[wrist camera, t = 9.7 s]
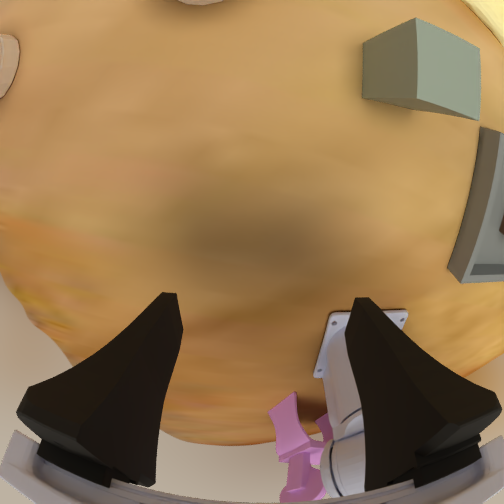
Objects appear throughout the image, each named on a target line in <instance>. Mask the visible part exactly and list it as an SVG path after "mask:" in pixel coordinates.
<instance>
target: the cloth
mask: <svg viewBox="0 0 504 504" xmlns="http://www.w3.org/2000/svg"><path fill="white" fill-rule="evenodd" d="M461 1H462V2H464V3H465V4H466V5H467V6H468V7H469V8H470V9H471V10H472V11H473V12H474V13H475V14H476V15H477V16H478V18H479V19H480V20H481V21H482V22H483V23H484V24H485V25H486V26H487V27H488V28H489V29H490V30H491V32H492V33H493V34H494V35H495V37H496V38H497V39H498V40H499V42H500V43H501V44H502V46H503V47H504V0H461Z"/></svg>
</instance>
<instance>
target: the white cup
mask: <svg viewBox="0 0 504 504" xmlns="http://www.w3.org/2000/svg"><path fill="white" fill-rule="evenodd" d="M19 54H20V50H19V44H18V40H17V39H16V38H14V37H13V36H12V35H5V34H0V98H1V97H2V96H4V95H5V93H6V92H7V90H8V88H9V87H10V85H11V83H12V82H13V79H14V76H15V73H16V70H17V67H18V61H19Z"/></svg>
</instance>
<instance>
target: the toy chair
mask: <svg viewBox="0 0 504 504" xmlns="http://www.w3.org/2000/svg"><path fill="white" fill-rule="evenodd" d="M268 414H269V416H270V417H271V419H272V421H273V424H274V426H275V430H276V452H277V454H278V455H279V462H285V463H289V467H288V477H287V485H286V486H285V487H284V488H283V490H282V491H281V494H280V503H285V502H302V501H313V500H321V499H322V498H323V497H324V496H325V494H326V492H327V491H326V490H325V487H324V485H323V482H322V479H321V473H320V470H318V469H315V468H313V467H311V464H315V465H316V464H317V465H320V459H321V454H322V452H323V450H324V447H325V445H326V443H327V442H328V441H329V440H331V439H334V438H333V430H332V426H331V424H330V421H329V416H328V412H327V413H326V414H324V415H323V416H321V417H320V418H318V419H317V420H315V422H316V424H317V425H318V426H319V428H320V430H321V432H322V434H323V437H324V438H323V439H324V441H323V442H321V441H316V440H313V439H311V438H310V437H309V436H308V434H307V433H306V431H305V430H304V429H303V427H302V425H301V423H300V421H299V418H298V413H297V393H296V392H293V393H291V394H290V395H289V396H288V397H286V398H285V399H284V400H283V401H281V402H280V403H279V404H277V405H276V406H275V407H273V408H272V409H271V410H269V411H268Z"/></svg>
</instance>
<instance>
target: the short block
mask: <svg viewBox="0 0 504 504" xmlns="http://www.w3.org/2000/svg"><path fill="white" fill-rule="evenodd" d="M499 231H500V232H501V233H502V234H503V235H504V215H503V218H502V222H501V225H500V228H499Z"/></svg>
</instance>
